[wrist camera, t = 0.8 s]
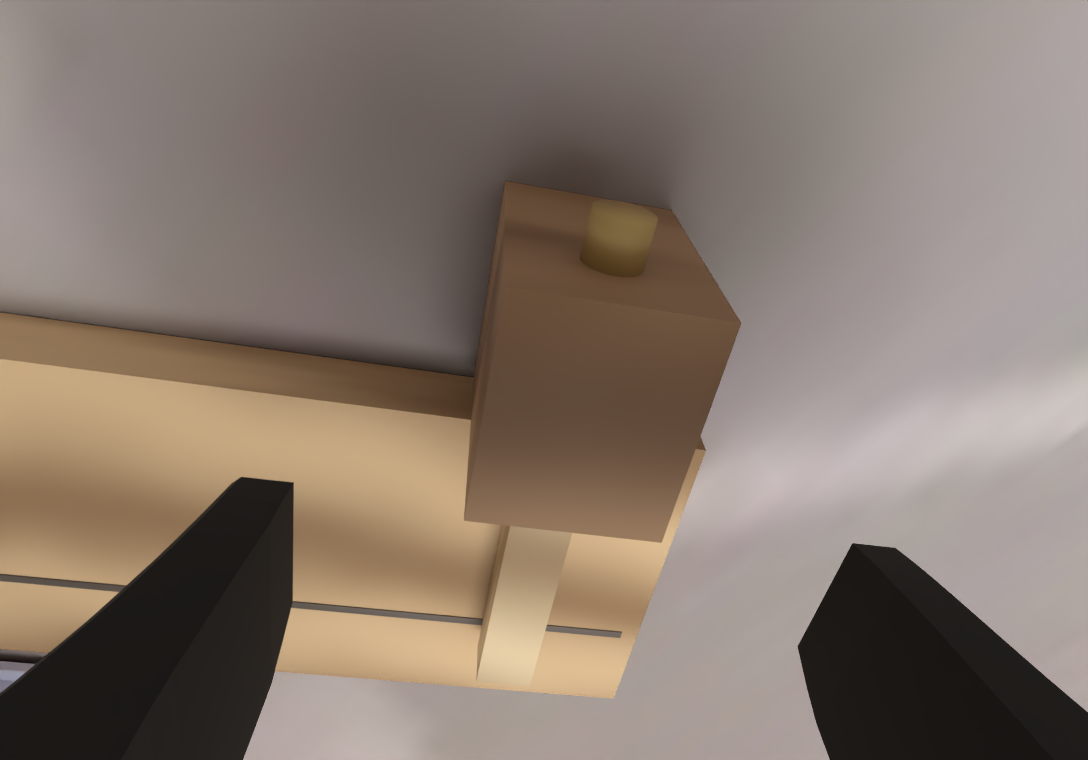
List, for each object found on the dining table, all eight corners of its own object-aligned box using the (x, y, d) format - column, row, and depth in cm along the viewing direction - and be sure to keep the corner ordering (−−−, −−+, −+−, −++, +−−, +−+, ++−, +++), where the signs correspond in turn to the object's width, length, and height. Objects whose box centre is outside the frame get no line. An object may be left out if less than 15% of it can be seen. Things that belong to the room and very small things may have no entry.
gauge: (564, 587, 24) (580, 765, 19) (441, 574, 23) (422, 755, 18) (683, 168, 17) (760, 267, 12) (512, 136, 16) (515, 227, 11)
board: (606, 646, 25) (613, 699, 24) (-168, 577, 22) (-226, 632, 20) (688, 407, 20) (706, 451, 18) (-298, 271, 17) (-389, 309, 15)
